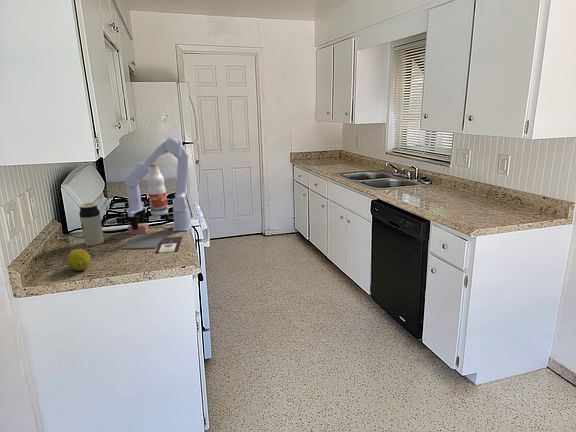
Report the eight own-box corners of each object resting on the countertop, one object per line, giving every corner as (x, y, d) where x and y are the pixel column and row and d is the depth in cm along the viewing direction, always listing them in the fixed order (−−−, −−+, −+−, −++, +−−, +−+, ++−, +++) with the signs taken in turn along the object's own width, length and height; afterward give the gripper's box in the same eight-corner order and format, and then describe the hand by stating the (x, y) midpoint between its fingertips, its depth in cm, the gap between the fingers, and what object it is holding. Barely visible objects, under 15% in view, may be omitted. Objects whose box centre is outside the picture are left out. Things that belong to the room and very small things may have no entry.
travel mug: (104, 239, 183) (98, 201, 178) (103, 244, 176) (97, 205, 171) (85, 241, 180) (78, 203, 175) (84, 247, 173) (76, 207, 168)
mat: (137, 235, 186) (137, 234, 186) (167, 234, 186) (166, 233, 186) (122, 249, 169) (122, 248, 169) (155, 248, 169) (154, 247, 169)
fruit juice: (165, 210, 229) (159, 162, 221) (170, 213, 222) (165, 164, 214) (148, 213, 224) (142, 164, 216) (153, 216, 217) (147, 166, 209)
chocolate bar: (182, 236, 182) (177, 250, 165) (182, 238, 183) (177, 252, 165) (161, 237, 181) (155, 252, 164) (162, 239, 181) (155, 254, 164)
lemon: (91, 272, 147) (87, 252, 144) (67, 276, 144) (63, 256, 142) (92, 262, 156) (89, 243, 154) (70, 265, 153) (66, 246, 151)
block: (129, 234, 189) (127, 226, 188) (132, 231, 193) (131, 223, 192) (145, 233, 189) (144, 226, 188) (148, 230, 194) (147, 223, 192)
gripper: (131, 196, 194) (135, 222, 197) (119, 203, 180) (124, 232, 184) (146, 196, 194) (149, 222, 197) (135, 203, 180) (139, 231, 184)
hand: (138, 227), depth 191 cm, fingers open, 7 cm apart
